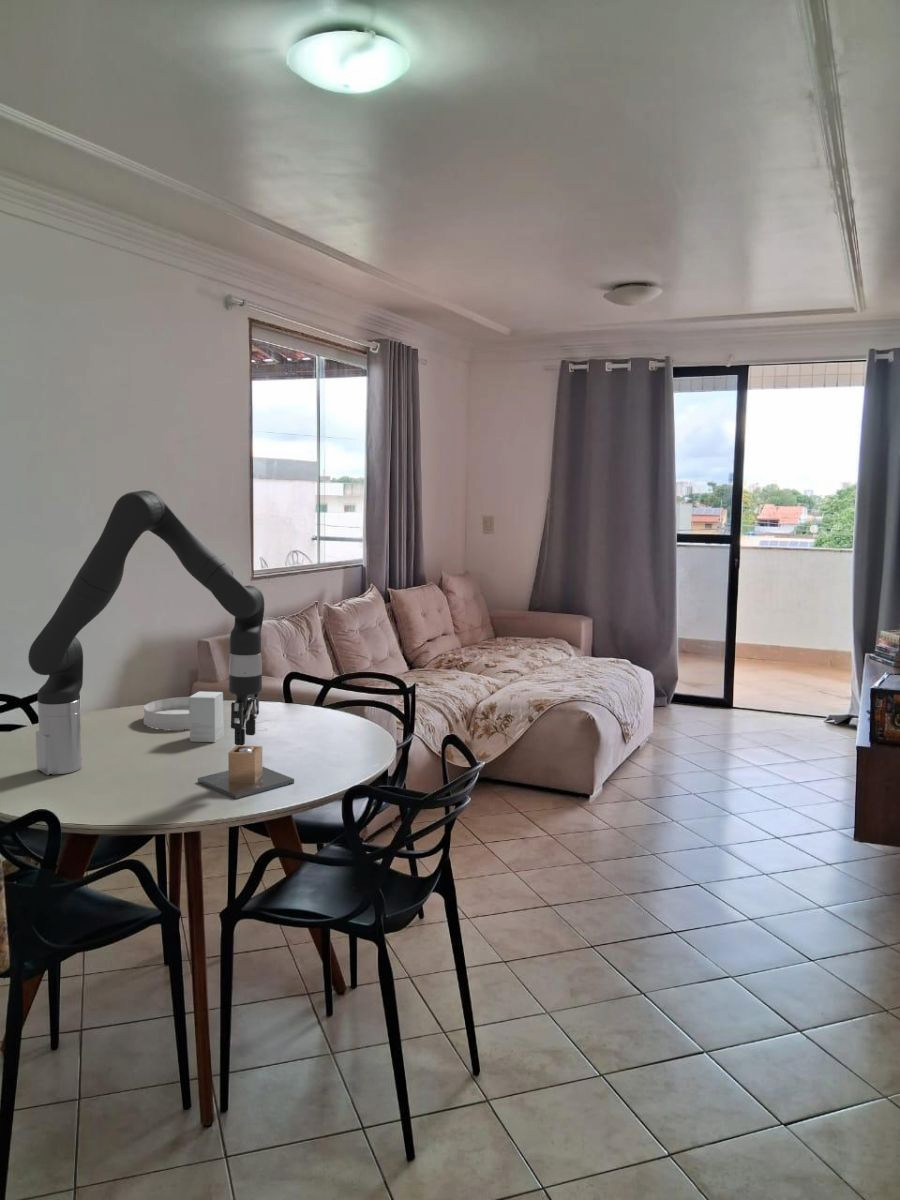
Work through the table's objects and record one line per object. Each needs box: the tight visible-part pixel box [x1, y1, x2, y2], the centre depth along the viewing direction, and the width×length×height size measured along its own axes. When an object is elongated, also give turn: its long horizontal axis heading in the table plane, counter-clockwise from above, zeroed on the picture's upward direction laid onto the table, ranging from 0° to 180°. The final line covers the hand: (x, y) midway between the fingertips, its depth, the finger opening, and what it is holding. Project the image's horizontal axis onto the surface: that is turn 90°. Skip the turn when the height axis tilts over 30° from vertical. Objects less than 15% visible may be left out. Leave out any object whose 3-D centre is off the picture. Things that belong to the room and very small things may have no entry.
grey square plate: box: [197, 748, 295, 800], centre depth 204 cm, size 16×16×8 cm
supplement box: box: [188, 690, 225, 743], centre depth 240 cm, size 7×7×13 cm
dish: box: [143, 696, 190, 731], centre depth 259 cm, size 22×22×5 cm
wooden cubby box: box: [227, 745, 263, 783], centre depth 204 cm, size 6×6×7 cm
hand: (245, 739), depth 203 cm, fingers open, 8 cm apart
